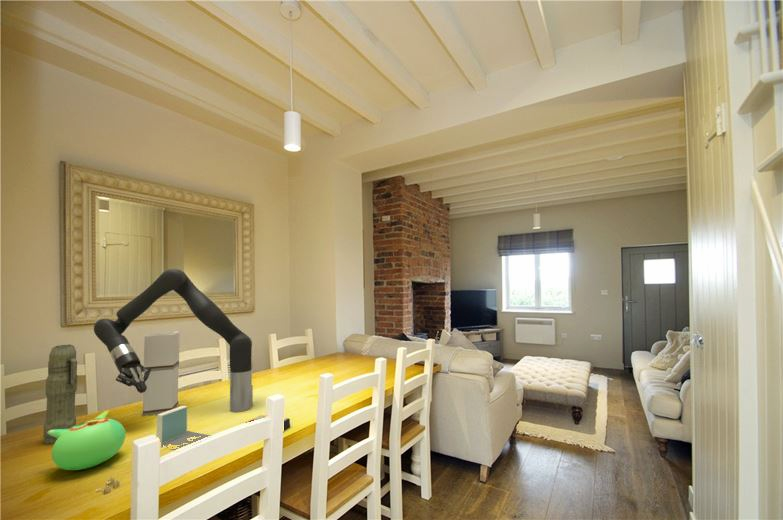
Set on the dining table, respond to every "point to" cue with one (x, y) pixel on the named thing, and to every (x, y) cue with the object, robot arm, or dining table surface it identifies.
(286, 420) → the calculator
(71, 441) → the green eared figurine
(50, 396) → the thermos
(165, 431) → the tile
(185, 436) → the tile mat
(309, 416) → the dining table surface
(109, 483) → the dice set
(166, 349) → the grooved grey pillar
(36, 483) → the dining table surface
